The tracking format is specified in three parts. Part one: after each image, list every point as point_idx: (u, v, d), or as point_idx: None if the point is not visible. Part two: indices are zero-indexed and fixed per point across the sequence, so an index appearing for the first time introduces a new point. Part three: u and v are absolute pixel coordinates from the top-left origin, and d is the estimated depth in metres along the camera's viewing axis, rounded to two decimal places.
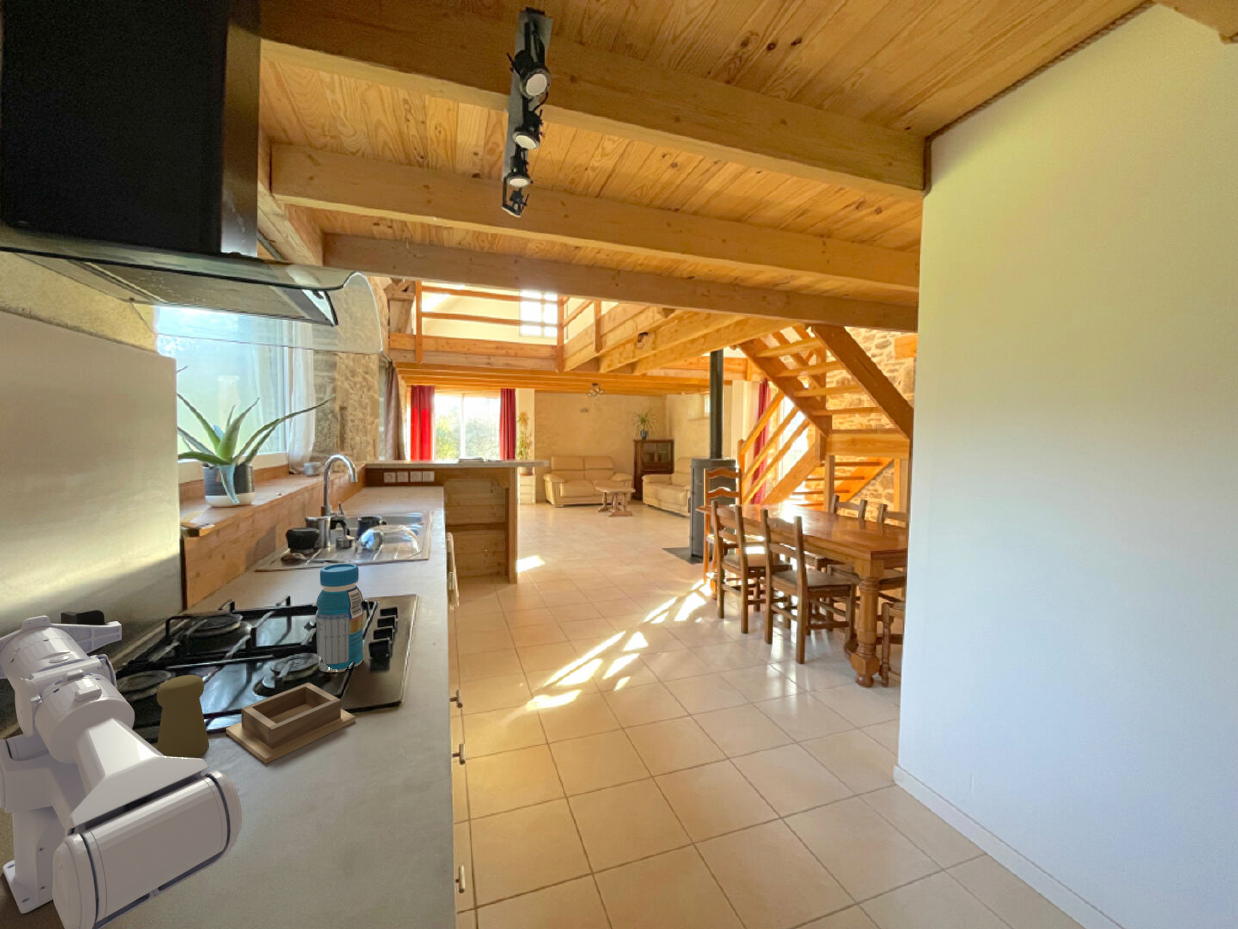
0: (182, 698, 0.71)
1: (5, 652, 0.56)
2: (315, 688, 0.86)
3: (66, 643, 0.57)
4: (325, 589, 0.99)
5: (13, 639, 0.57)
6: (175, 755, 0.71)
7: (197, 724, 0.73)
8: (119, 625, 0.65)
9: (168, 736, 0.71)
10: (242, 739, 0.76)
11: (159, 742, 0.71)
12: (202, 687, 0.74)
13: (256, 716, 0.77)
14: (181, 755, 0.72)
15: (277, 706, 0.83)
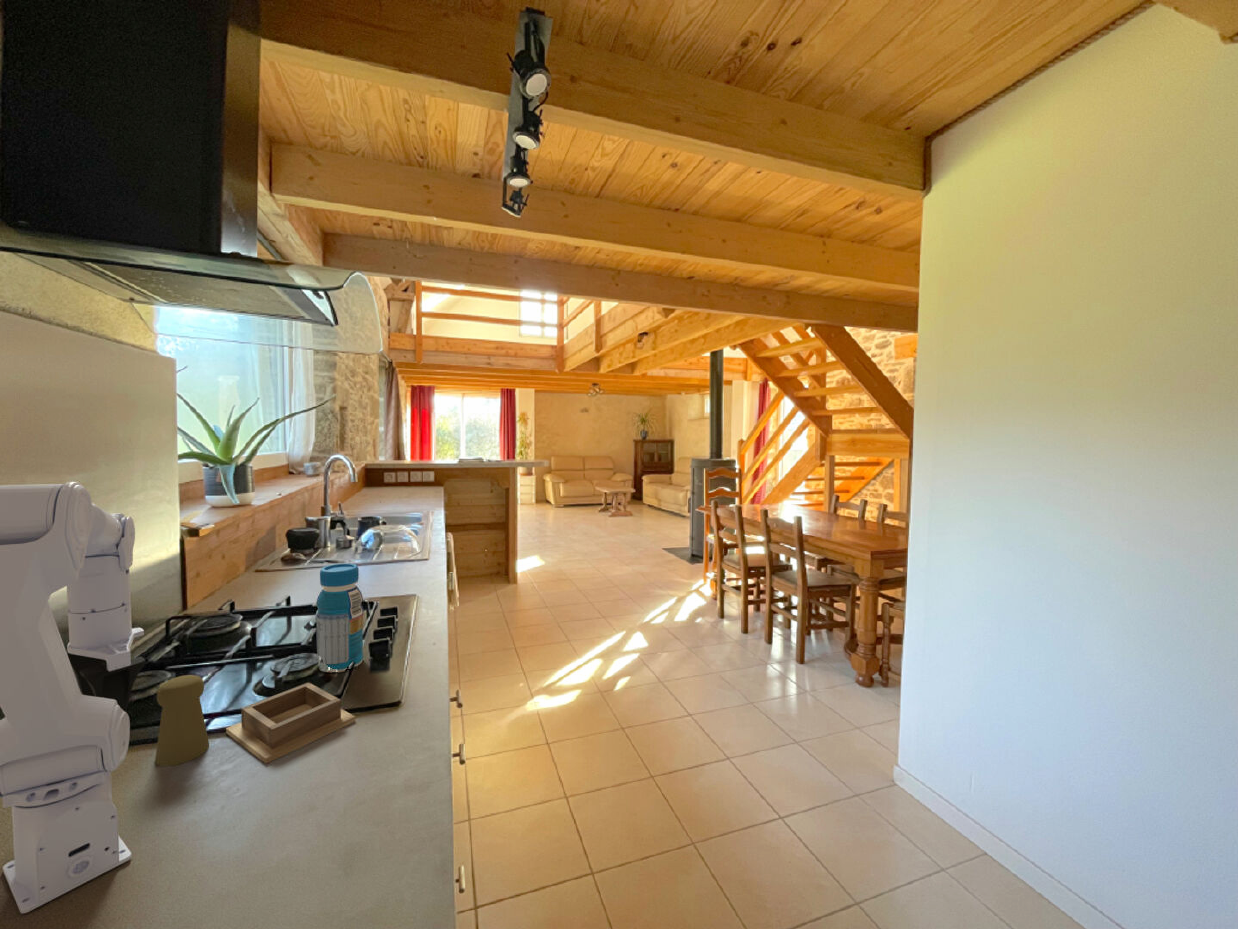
0: (182, 698, 0.71)
1: None
2: (315, 688, 0.86)
3: None
4: (325, 589, 0.99)
5: None
6: (175, 755, 0.71)
7: (197, 724, 0.73)
8: (129, 651, 0.63)
9: (168, 736, 0.71)
10: (242, 739, 0.76)
11: (159, 742, 0.71)
12: (202, 687, 0.74)
13: (256, 716, 0.77)
14: (181, 755, 0.72)
15: (277, 706, 0.83)
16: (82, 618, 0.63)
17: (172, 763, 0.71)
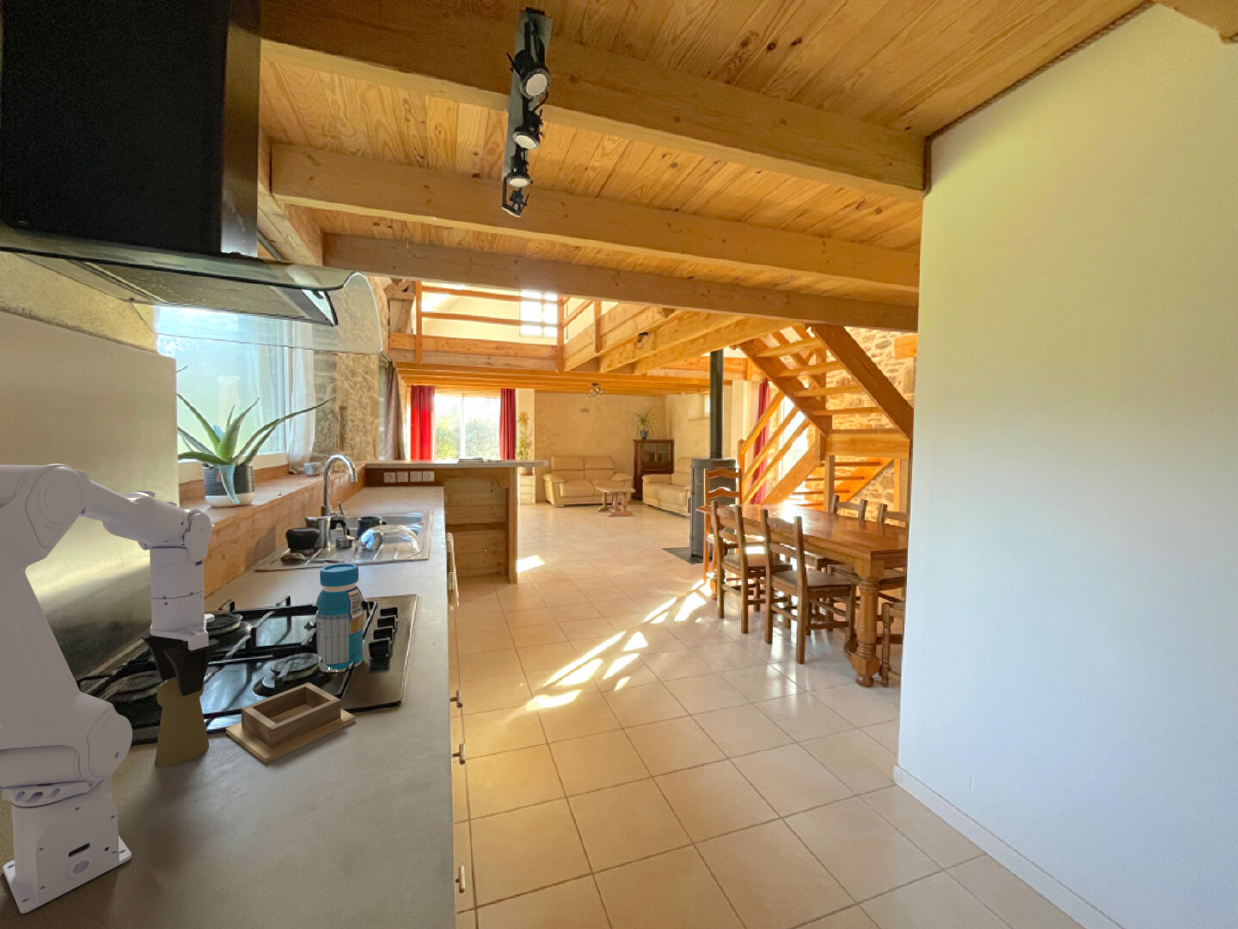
0: (182, 698, 0.71)
1: None
2: (315, 688, 0.86)
3: None
4: (325, 589, 0.99)
5: None
6: (175, 755, 0.71)
7: (197, 724, 0.73)
8: (207, 633, 0.70)
9: (168, 736, 0.71)
10: (242, 739, 0.76)
11: (159, 742, 0.71)
12: (202, 687, 0.74)
13: (256, 716, 0.77)
14: (181, 755, 0.72)
15: (277, 706, 0.83)
16: (165, 603, 0.70)
17: (172, 763, 0.71)
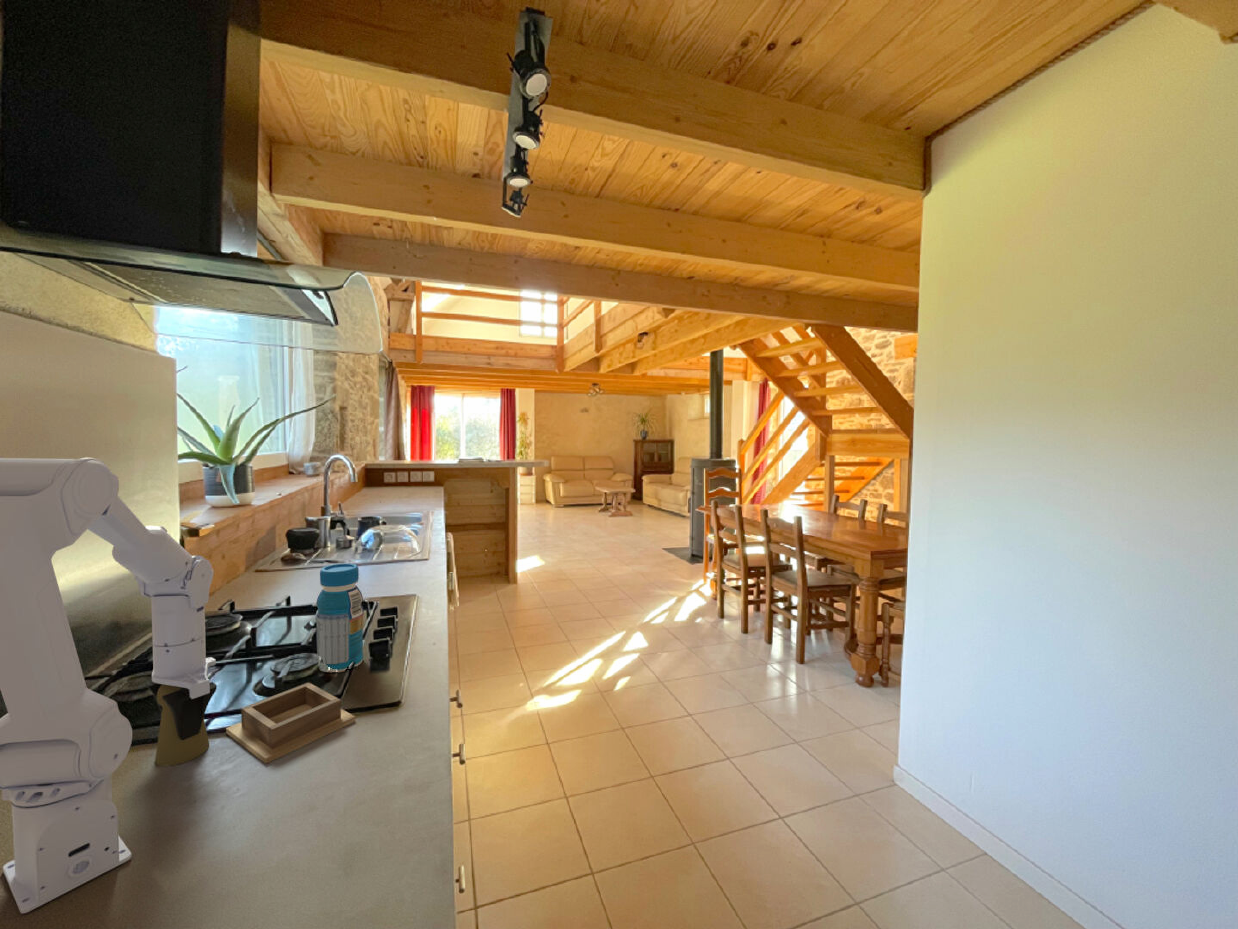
0: None
1: None
2: (315, 688, 0.86)
3: None
4: (325, 589, 0.99)
5: None
6: (175, 755, 0.71)
7: None
8: (208, 680, 0.70)
9: (168, 736, 0.71)
10: (242, 739, 0.76)
11: (159, 742, 0.71)
12: None
13: (256, 716, 0.77)
14: (181, 755, 0.72)
15: (277, 706, 0.83)
16: (166, 651, 0.70)
17: (172, 763, 0.71)
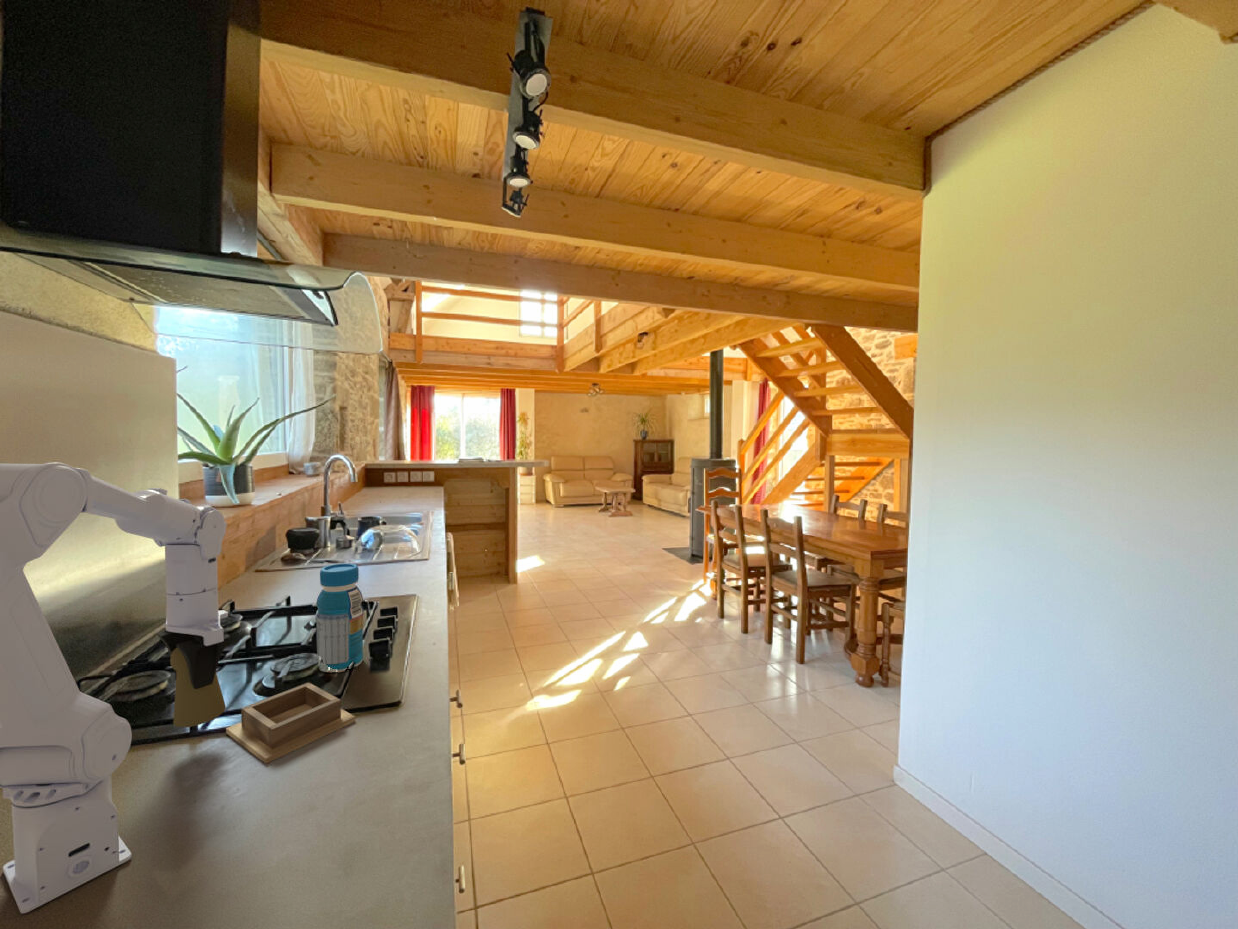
0: None
1: None
2: (315, 688, 0.86)
3: None
4: (325, 589, 0.99)
5: None
6: (193, 717, 0.72)
7: (212, 687, 0.74)
8: (222, 628, 0.71)
9: (184, 699, 0.72)
10: (242, 739, 0.76)
11: (176, 704, 0.72)
12: None
13: (256, 716, 0.77)
14: (199, 716, 0.73)
15: (277, 706, 0.83)
16: (180, 599, 0.71)
17: (190, 724, 0.72)
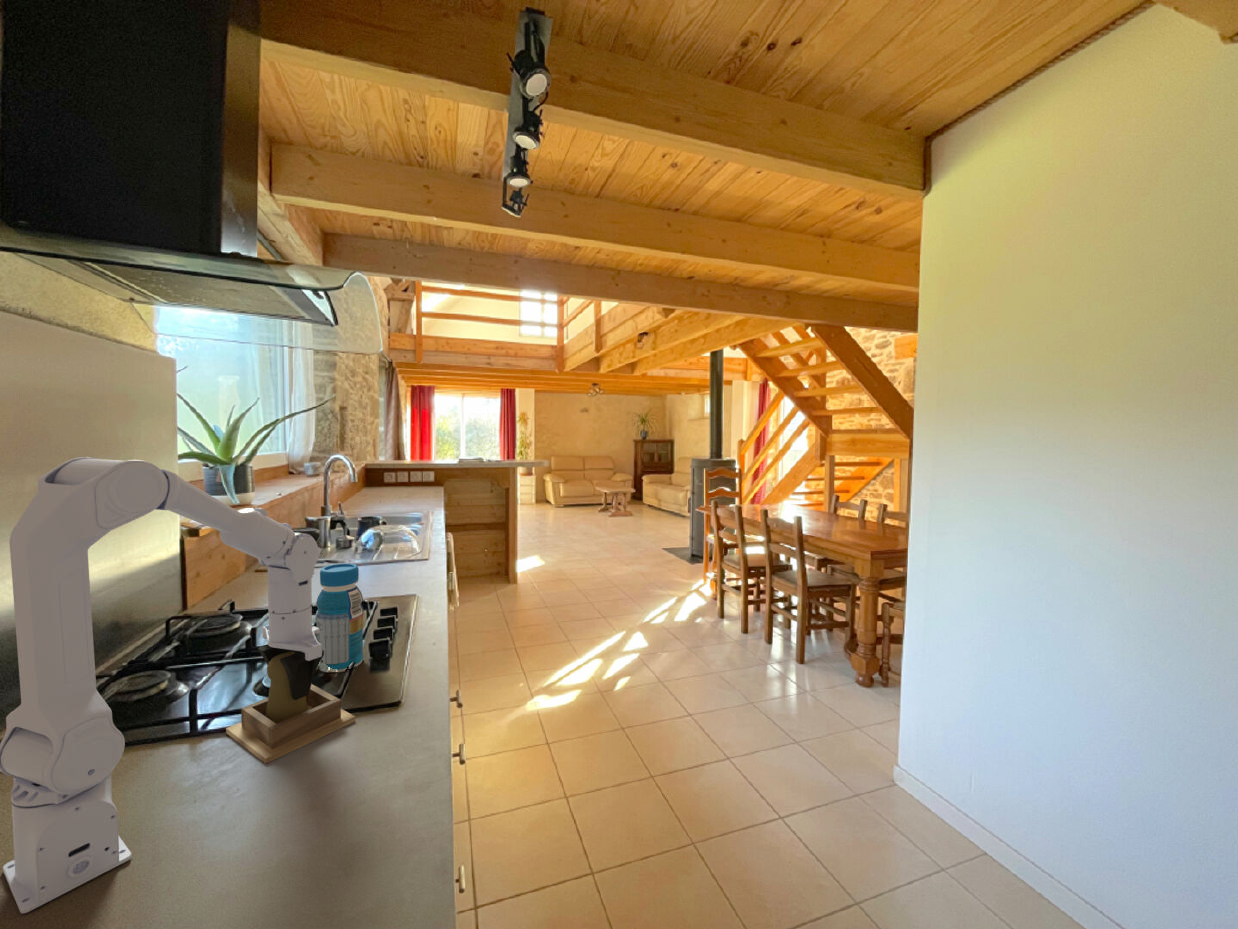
0: None
1: None
2: (315, 688, 0.86)
3: None
4: (325, 589, 0.99)
5: None
6: None
7: None
8: None
9: (277, 707, 0.78)
10: (242, 739, 0.76)
11: (268, 712, 0.78)
12: None
13: (256, 716, 0.77)
14: None
15: None
16: (282, 618, 0.77)
17: None
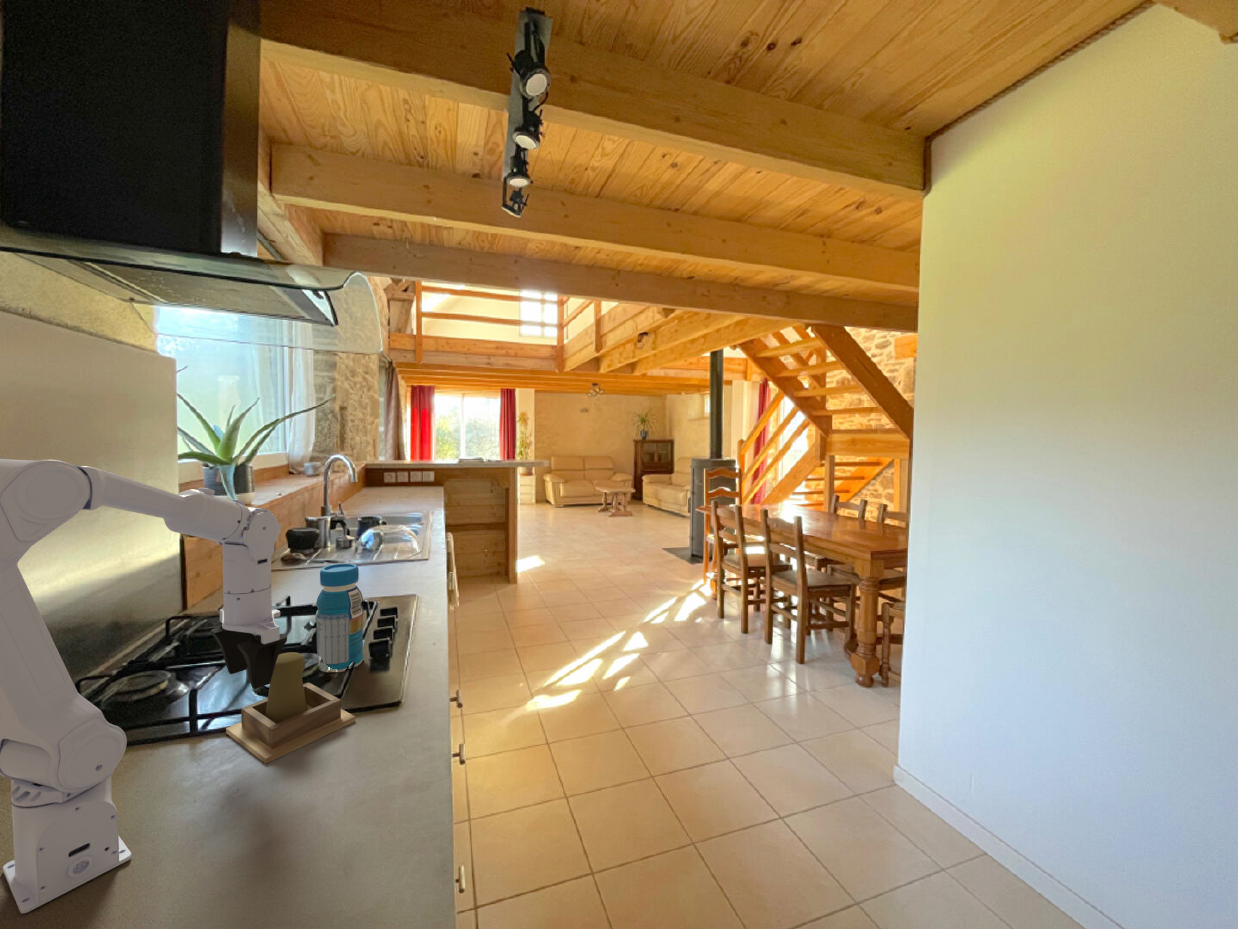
0: (288, 673, 0.78)
1: None
2: (315, 688, 0.86)
3: None
4: (325, 589, 0.99)
5: None
6: None
7: (300, 697, 0.80)
8: (278, 627, 0.72)
9: (276, 707, 0.78)
10: (242, 739, 0.76)
11: (268, 712, 0.78)
12: (304, 663, 0.81)
13: (256, 716, 0.77)
14: None
15: None
16: (237, 598, 0.72)
17: None
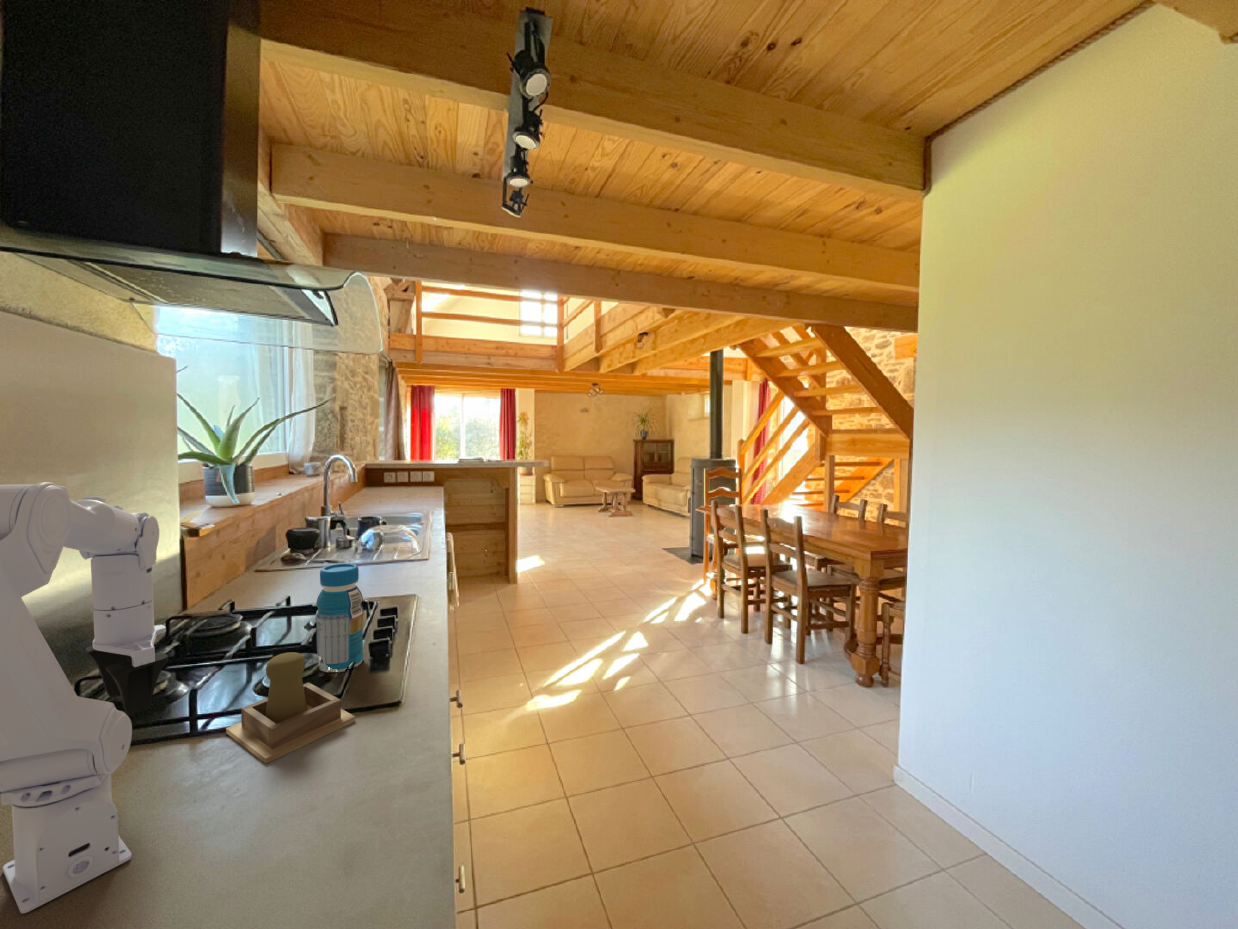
0: (288, 673, 0.78)
1: None
2: (315, 688, 0.86)
3: None
4: (325, 589, 0.99)
5: None
6: None
7: (300, 697, 0.80)
8: None
9: (276, 707, 0.78)
10: (242, 739, 0.76)
11: (268, 712, 0.78)
12: (304, 663, 0.81)
13: (256, 716, 0.77)
14: None
15: None
16: (107, 615, 0.64)
17: None
